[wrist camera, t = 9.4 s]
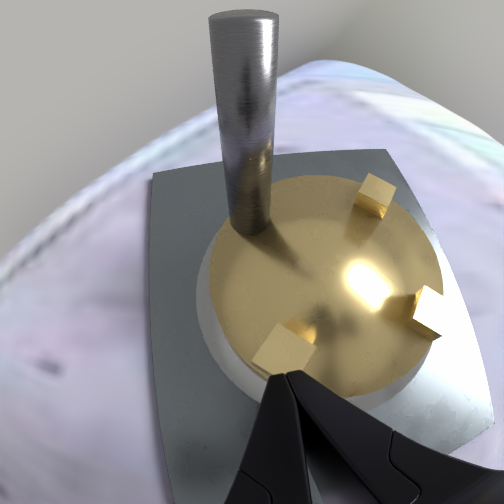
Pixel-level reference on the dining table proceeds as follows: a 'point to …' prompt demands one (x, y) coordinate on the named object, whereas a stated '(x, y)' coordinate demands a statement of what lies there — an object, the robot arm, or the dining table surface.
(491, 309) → the dining table surface
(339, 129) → the dining table surface
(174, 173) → the gray metal base plate
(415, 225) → the brass chuck with rod
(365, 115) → the dining table surface
